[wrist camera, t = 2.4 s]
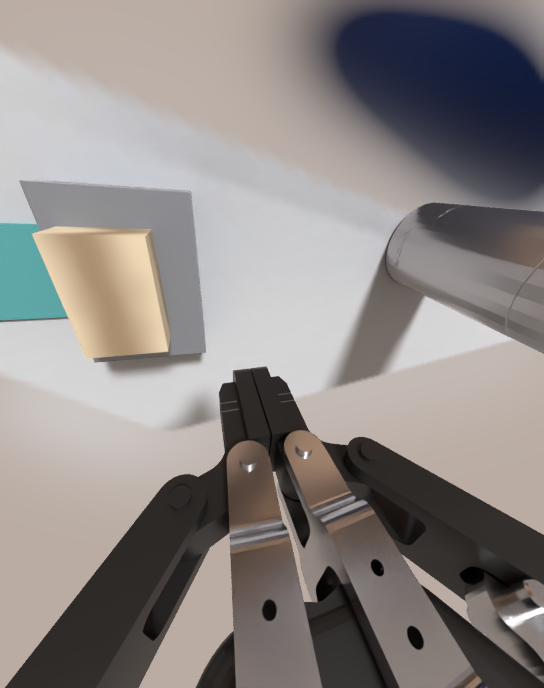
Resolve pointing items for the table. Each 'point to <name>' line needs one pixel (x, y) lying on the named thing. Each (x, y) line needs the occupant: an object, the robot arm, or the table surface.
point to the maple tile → (108, 288)
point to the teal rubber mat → (25, 277)
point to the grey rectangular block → (137, 213)
